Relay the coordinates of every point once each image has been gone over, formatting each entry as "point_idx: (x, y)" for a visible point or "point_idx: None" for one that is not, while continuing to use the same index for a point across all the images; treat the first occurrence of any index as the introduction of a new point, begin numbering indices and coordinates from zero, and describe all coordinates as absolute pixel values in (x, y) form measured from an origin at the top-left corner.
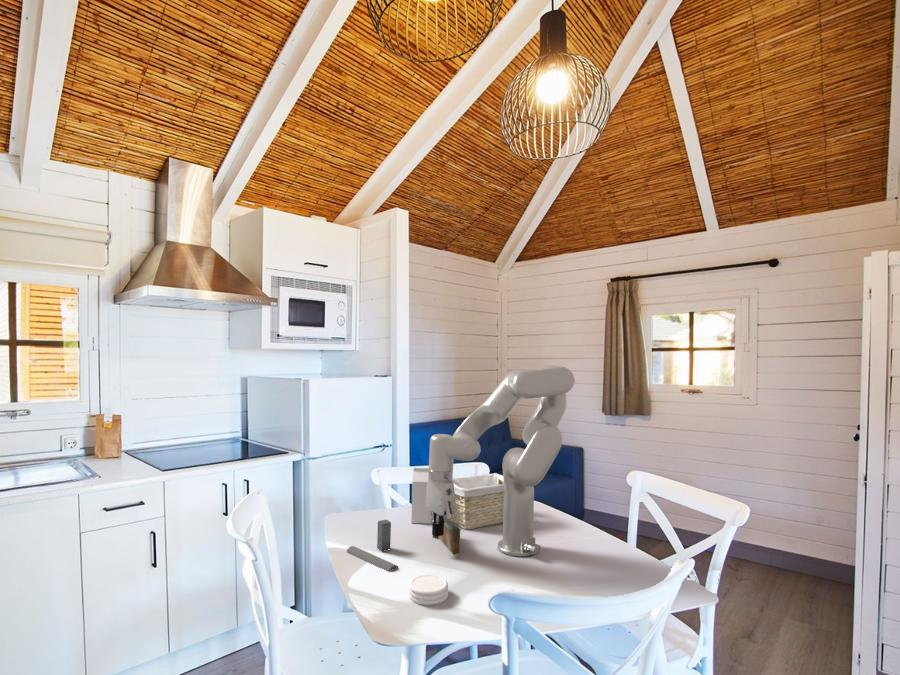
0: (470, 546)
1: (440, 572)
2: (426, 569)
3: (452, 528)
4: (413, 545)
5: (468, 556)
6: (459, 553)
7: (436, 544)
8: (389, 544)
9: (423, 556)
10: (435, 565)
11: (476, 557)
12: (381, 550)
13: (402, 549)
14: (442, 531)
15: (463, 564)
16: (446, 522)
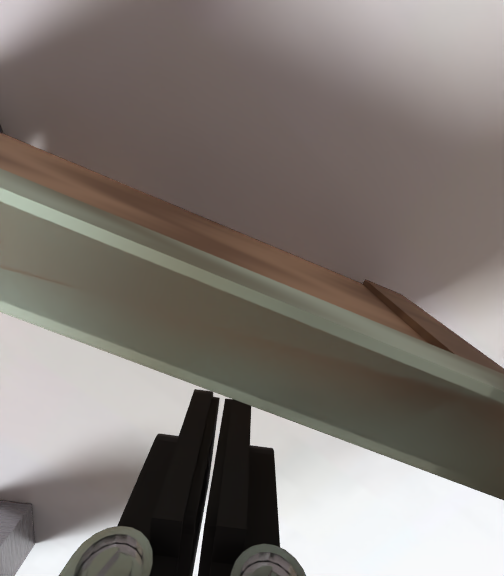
0: (301, 46)
1: (436, 490)
2: (355, 514)
3: (446, 478)
4: (37, 378)
5: (422, 217)
6: (401, 295)
7: None
8: (8, 540)
9: (215, 433)
10: (355, 458)
11: (481, 181)
12: (27, 551)
13: (59, 457)
14: (272, 460)
15: (475, 336)
16: (173, 374)
